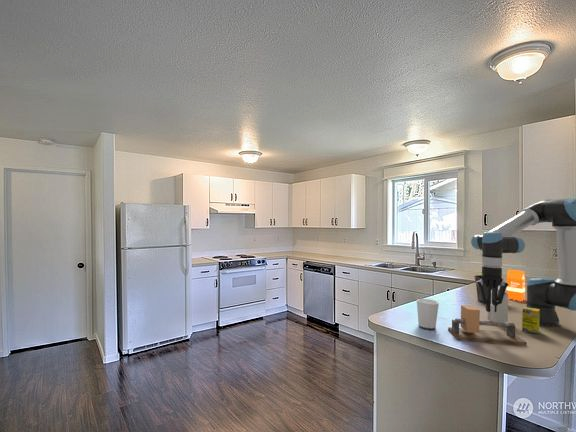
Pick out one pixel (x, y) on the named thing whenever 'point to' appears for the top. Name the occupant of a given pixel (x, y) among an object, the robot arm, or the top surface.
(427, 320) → the cup
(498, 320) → the milk carton
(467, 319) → the collar
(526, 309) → the supplement box
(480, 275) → the plant pot
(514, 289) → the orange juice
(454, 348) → the top surface
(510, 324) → the pipe stand
